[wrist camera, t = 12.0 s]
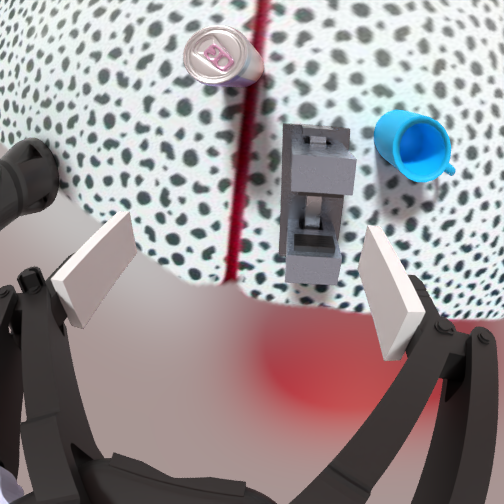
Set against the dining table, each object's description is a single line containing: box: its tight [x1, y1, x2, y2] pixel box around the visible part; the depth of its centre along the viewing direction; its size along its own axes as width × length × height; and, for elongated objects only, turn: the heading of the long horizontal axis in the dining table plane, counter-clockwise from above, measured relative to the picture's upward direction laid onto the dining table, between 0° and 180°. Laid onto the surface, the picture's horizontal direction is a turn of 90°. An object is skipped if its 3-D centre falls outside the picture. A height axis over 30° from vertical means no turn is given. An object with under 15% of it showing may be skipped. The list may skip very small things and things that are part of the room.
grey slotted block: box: [279, 123, 357, 254], centre depth 36 cm, size 9×20×11 cm, turn 0°
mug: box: [374, 110, 455, 182], centre depth 31 cm, size 12×8×8 cm
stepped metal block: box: [285, 219, 342, 285], centre depth 39 cm, size 7×5×10 cm
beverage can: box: [183, 25, 264, 87], centre depth 26 cm, size 6×6×15 cm
